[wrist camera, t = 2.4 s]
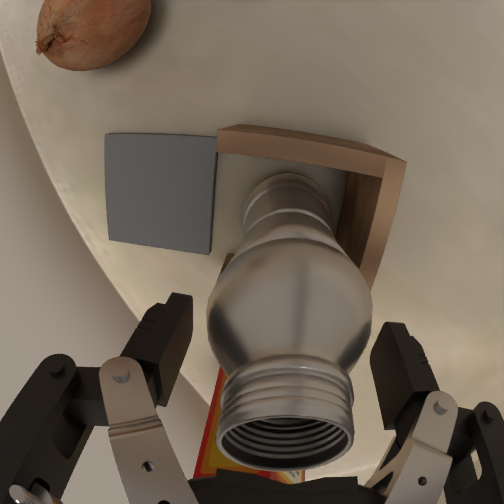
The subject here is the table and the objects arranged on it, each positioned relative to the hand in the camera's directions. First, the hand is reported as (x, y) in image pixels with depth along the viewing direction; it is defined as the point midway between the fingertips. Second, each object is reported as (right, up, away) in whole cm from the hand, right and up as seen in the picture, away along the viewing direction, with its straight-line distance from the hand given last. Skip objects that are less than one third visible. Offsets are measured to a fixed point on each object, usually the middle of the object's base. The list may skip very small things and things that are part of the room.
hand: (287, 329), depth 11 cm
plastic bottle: (+1, +7, +14) cm, 15 cm away
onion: (-13, +22, +7) cm, 27 cm away
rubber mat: (-9, +8, +14) cm, 19 cm away
